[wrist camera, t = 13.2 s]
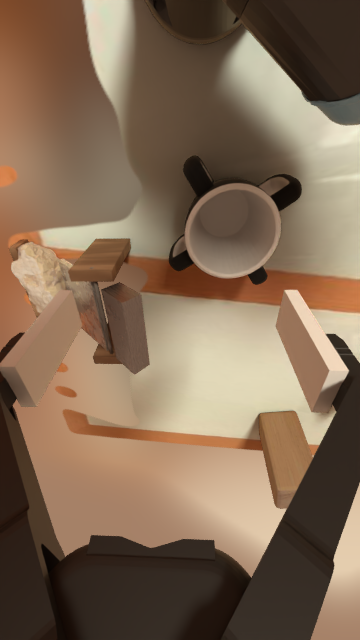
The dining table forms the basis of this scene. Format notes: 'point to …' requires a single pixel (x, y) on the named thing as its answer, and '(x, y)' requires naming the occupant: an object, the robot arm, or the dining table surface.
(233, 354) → the dining table surface
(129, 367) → the trapdoor
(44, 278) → the stone
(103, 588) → the robot arm
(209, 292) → the dining table surface
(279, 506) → the wooden block
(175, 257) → the mug
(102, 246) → the frame
